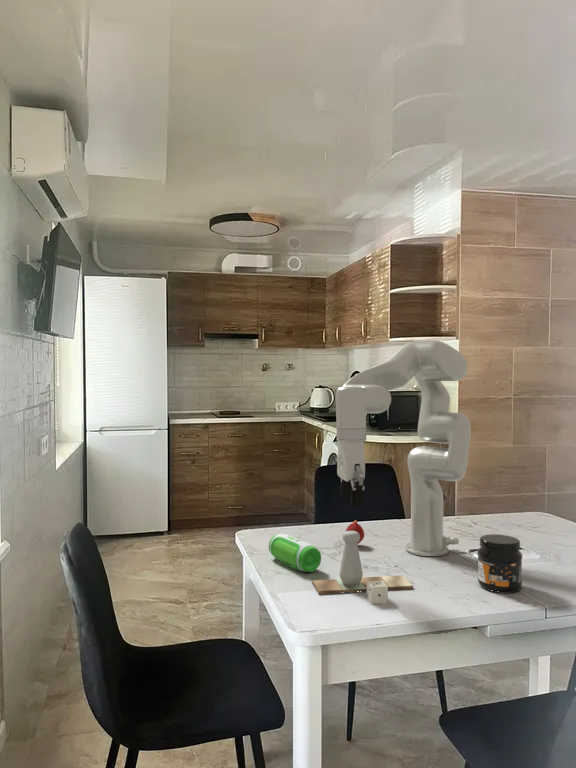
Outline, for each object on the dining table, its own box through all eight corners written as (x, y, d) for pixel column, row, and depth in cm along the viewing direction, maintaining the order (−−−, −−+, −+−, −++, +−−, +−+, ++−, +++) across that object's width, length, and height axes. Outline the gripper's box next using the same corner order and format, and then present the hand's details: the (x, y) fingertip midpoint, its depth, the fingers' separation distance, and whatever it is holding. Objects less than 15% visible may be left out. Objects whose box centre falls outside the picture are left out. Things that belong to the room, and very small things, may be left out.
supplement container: (470, 587, 147) (471, 539, 147) (487, 576, 156) (487, 531, 155) (513, 597, 141) (513, 547, 141) (528, 585, 149) (528, 538, 149)
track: (402, 578, 154) (402, 575, 154) (413, 588, 147) (413, 585, 147) (312, 583, 151) (312, 580, 151) (318, 594, 143) (318, 591, 143)
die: (383, 597, 141) (383, 579, 141) (387, 603, 137) (388, 586, 137) (366, 597, 141) (366, 580, 141) (370, 604, 137) (370, 586, 137)
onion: (343, 547, 183) (343, 521, 183) (348, 542, 188) (348, 517, 188) (361, 549, 181) (361, 523, 181) (366, 544, 186) (366, 518, 186)
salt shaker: (347, 588, 144) (347, 535, 144) (335, 581, 149) (335, 530, 149) (367, 585, 147) (367, 533, 147) (354, 578, 152) (354, 527, 152)
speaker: (323, 571, 160) (323, 544, 160) (300, 576, 156) (300, 548, 156) (288, 555, 175) (288, 530, 175) (267, 559, 171) (267, 533, 171)
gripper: (328, 431, 158) (329, 495, 158) (346, 439, 141) (347, 510, 141) (355, 430, 159) (356, 494, 159) (376, 438, 142) (377, 508, 142)
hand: (352, 501), depth 150 cm, fingers open, 9 cm apart
